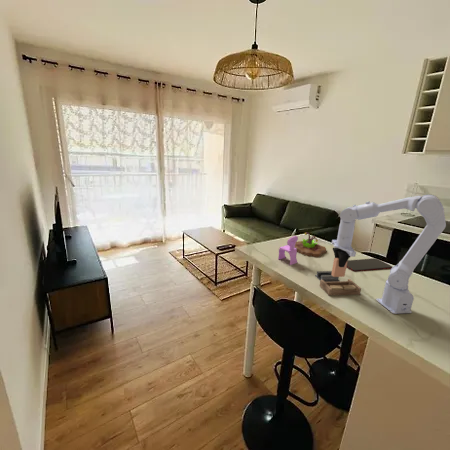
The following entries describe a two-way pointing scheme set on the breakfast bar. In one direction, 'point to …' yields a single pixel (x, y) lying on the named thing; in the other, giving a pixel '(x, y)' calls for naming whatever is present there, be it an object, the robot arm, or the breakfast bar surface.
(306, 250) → the plant
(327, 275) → the stand
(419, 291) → the breakfast bar surface
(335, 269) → the salmon pink block
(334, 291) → the brown shallow tray
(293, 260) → the toy chair
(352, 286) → the offcut
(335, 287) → the offcut
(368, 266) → the dark rectangular slab
